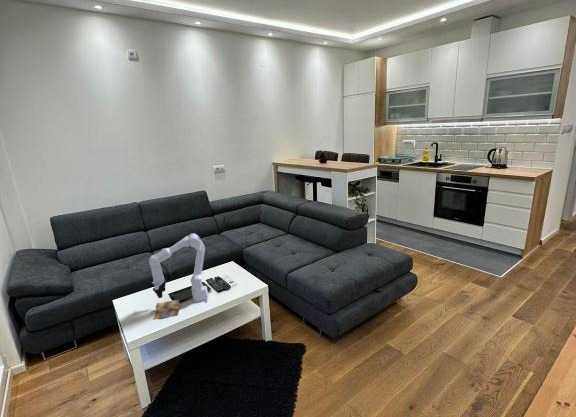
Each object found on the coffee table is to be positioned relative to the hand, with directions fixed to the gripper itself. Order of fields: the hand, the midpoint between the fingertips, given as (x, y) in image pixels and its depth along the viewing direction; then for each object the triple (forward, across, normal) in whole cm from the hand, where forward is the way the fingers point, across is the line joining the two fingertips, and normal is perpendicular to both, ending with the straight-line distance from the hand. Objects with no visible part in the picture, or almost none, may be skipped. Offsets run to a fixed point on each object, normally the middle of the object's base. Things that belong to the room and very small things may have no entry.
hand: (161, 294), depth 187 cm
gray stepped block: (+10, +9, +3) cm, 14 cm away
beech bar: (+10, +2, +2) cm, 10 cm away
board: (+10, +6, +3) cm, 12 cm away
